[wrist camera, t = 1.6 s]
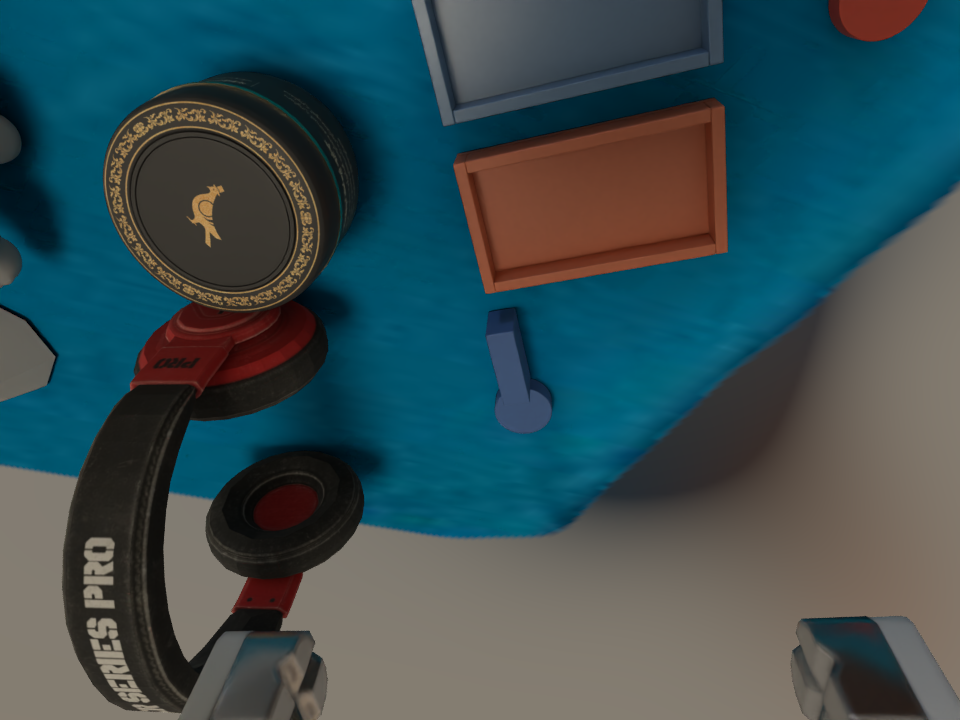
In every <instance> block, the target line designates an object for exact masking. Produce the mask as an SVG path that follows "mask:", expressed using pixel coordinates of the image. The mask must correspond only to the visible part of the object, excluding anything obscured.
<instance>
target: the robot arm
mask: <svg viewBox="0 0 960 720" xmlns="http://www.w3.org/2000/svg"><path fill="white" fill-rule="evenodd" d="M796 635H797V637H798V640H799V642H800V645H799V646H798V647H796V648H795V649H794V650H793V651H792V658H791V672H792V682H793V685H794V689H795V693H796V697H797V700H798V703H799V705H800V708H801V711H802V713H803V714H804V715H805V716H806V717H807V718H808V719H809V720H960V700H959V698H958V697H957V695H956V693H955V692H954V690H953V688H952V687H951V685H950V684H949V682H948V680H947V678H946V677H945V675H944V673H943V672H942V670H941V668H940V667H939V665H938V663H937V662H936V660H935V658H934V657H933V655H932V653H931V652H930V650H929V648H928V647H927V645H926V643H925V642H924V640H923V638H922V637H921V635H920V633H919V632H918V630H917V628H916V627H915V625H914V623H913V622H911V621H910V620H909V619H908V618H907V617H903V616H889V617H866V616H862V617H861V616H860V617H835V618H809V619H801V620H800V621H799V622H798V624H797V629H796ZM314 645H315V641H314V639H313V637H312V635H311V633H310V631H229V632H224V633H223V635H222V636H221V637H220V638H219V639H218V640H217V641H216V643H215V645H214V647H213V649H212V651H211V653H210V655H209V657H208V659H207V661H206V664H205V666H204V668H203V670H202V672H201V674H200V676H199V678H198V680H197V682H196V684H195V686H194V688H193V690H192V692H191V694H190V696H189V698H188V700H187V702H186V705H185V707H184V709H183V711H182V713H181V715H180V717H179V719H178V720H317V719H318V718H319V716H320V715H321V714H322V710H323V707H324V702H325V699H326V692H327V681H328V680H327V679H328V678H327V671H326V666H325V664H324V661H323V659H322V658H321V657H320V656H318V655H317V654H315V653H314V652H312V651H313V648H314Z"/></svg>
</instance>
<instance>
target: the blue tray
mask: <svg viewBox="0 0 960 720" xmlns="http://www.w3.org/2000/svg"><path fill="white" fill-rule="evenodd" d="M411 1H412V5H413V9H414V13H415V17H416V21H417V25H418V29H419V33H420V36H421V40H422V44H423V48H424V52H425V56H426V60H427V64H428V68H429V72H430V76H431V80H432V84H433V88H434V92H435V96H436V100H437V104H438V108H439V112H440V116H441V120H442V123H443V126H449V125H453V124H455V123H462V122H466V121H471V120H475V119H479V118H484V117H488V116H492V115H497V114H501V113H506V112H510V111H514V110H519V109H523V108H527V107H532V106H536V105H540V104H545V103H549V102H554V101H558V100H562V99H567V98H571V97H575V96H580V95H584V94H589V93H593V92H597V91H602V90H606V89H610V88H615V87H619V86H623V85H628V84H632V83H637V82H641V81H645V80H650V79H654V78H658V77H663V76H667V75H671V74H676V73H680V72H685V71H689V70H693V69H698V68H702V67H706V66H709V65H715V64H720V63H723V61H724V56H723V11H722V0H411Z"/></svg>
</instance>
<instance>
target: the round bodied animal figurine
mask: <svg viewBox="0 0 960 720" xmlns="http://www.w3.org/2000/svg"><path fill="white" fill-rule="evenodd" d="M20 150H21V137H20V134H19V132H18V130H17V129H16V127H15V126H14V125H13V124H12V123H11V122H10V121H9V120H7V119H6V118H5V117H3V116H2V115H0V164H3V163H6V162H9V161H11V160H13V159H14V158H16V157H17V156H18V154H19V153H20ZM21 268H22V258H21V255H20V253H19V251H18V250H17V248H16V247H15V246H14V245H13V244H12V243H11V242H9V241H8V240H6V239H4V238H2V237H1V236H0V288H1V287H2V286H3V285H9V284H11V283H12V282H13V280H14V278H15V277H16V276H18V274H19V273H20V271H21Z"/></svg>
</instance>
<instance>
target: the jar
mask: <svg viewBox="0 0 960 720" xmlns="http://www.w3.org/2000/svg"><path fill="white" fill-rule="evenodd" d="M103 186H104V194H105V199H106V204H107V207H108V211H109V213H110V216H111V219H112V221H113V224H114V226H115V228H116V230H117V232H118V234H119V236H120V237H121V239H122V241H123V242H124V244H125V245H126V247H127V248H128V250H129V251H130V252H131V254H132V255H133V256H134V257H135V259H136V260H137V261H138V262H139V263H140V264H141V265H142V267H143V268H144V269H145V270H146V271H147V272H149V273H150V274H151V275H152V276H153V277H154V278H155V279H157V280H158V281H159V282H160V283H162V284H163V285H164V286H166V287H167V288H169V289H170V290H172V291H173V292H175V293H176V294H178V295H180V296H182V297H184V298H186V299H188V300H190V301H192V302H194V303H197V304H199V305H202V306H205V307H208V308H212V309H215V310H220V311H226V312H234V313H251V312H260V311H265V310H270V309H273V308H276V307H279V306H281V305H283V304H285V303H287V302H289V301H291V300H292V299H294V298H296V297H297V296H298V295H300V294H301V293H302V292H303V291H305V290H306V289H307V288H308V287H309V286H310V285H311V284H312V282H313V281H314V280H315V279H316V278H317V276H318V275H319V274H320V273H321V272H322V271H323V269H324V268H325V267H326V266H327V264H328V263H329V261H330V259H331V257H332V256H333V254H334V252H335V250H336V247H337V246H338V245H339V243H340V242H341V240H342V239H343V237H344V236H345V234H346V232H347V231H348V229H349V227H350V225H351V223H352V220H353V218H354V215H355V211H356V207H357V202H358V193H359V180H358V168H357V162H356V158H355V154H354V151H353V148H352V145H351V143H350V141H349V138H348V137H347V135H346V133H345V131H344V129H343V128H342V126H341V124H340V123H339V121H338V120H337V119H336V117H335V116H334V115H333V114H332V113H331V111H330V110H329V109H328V108H327V107H326V106H325V105H324V104H323V103H322V102H321V101H319V100H318V99H317V98H316V97H314V96H313V95H312V94H310V93H309V92H307V91H306V90H304V89H302V88H301V87H299V86H297V85H295V84H293V83H291V82H288V81H286V80H283V79H280V78H277V77H273V76H270V75H266V74H261V73H254V72H231V73H225V74H221V75H217V76H214V77H210V78H208V79H205V80H202V81H199V82H191V83H187V84H183V85H179V86H176V87H173V88H171V89H169V90H166V91H164V92H162V93H160V94H158V95H157V96H155V97H154V98H152V99H151V100H149V101H147V102H145V103H144V104H142V105H141V106H139V107H138V108H136V109H135V110H134V111H132V112H131V113H130V114H129V115H128V116H127V117H126V118H125V119H124V120H123V121H122V123H121V124H120V125H119V126H118V128H117V129H116V131H115V132H114V134H113V136H112V138H111V140H110V143H109V145H108V148H107V151H106V155H105V160H104V168H103Z"/></svg>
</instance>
